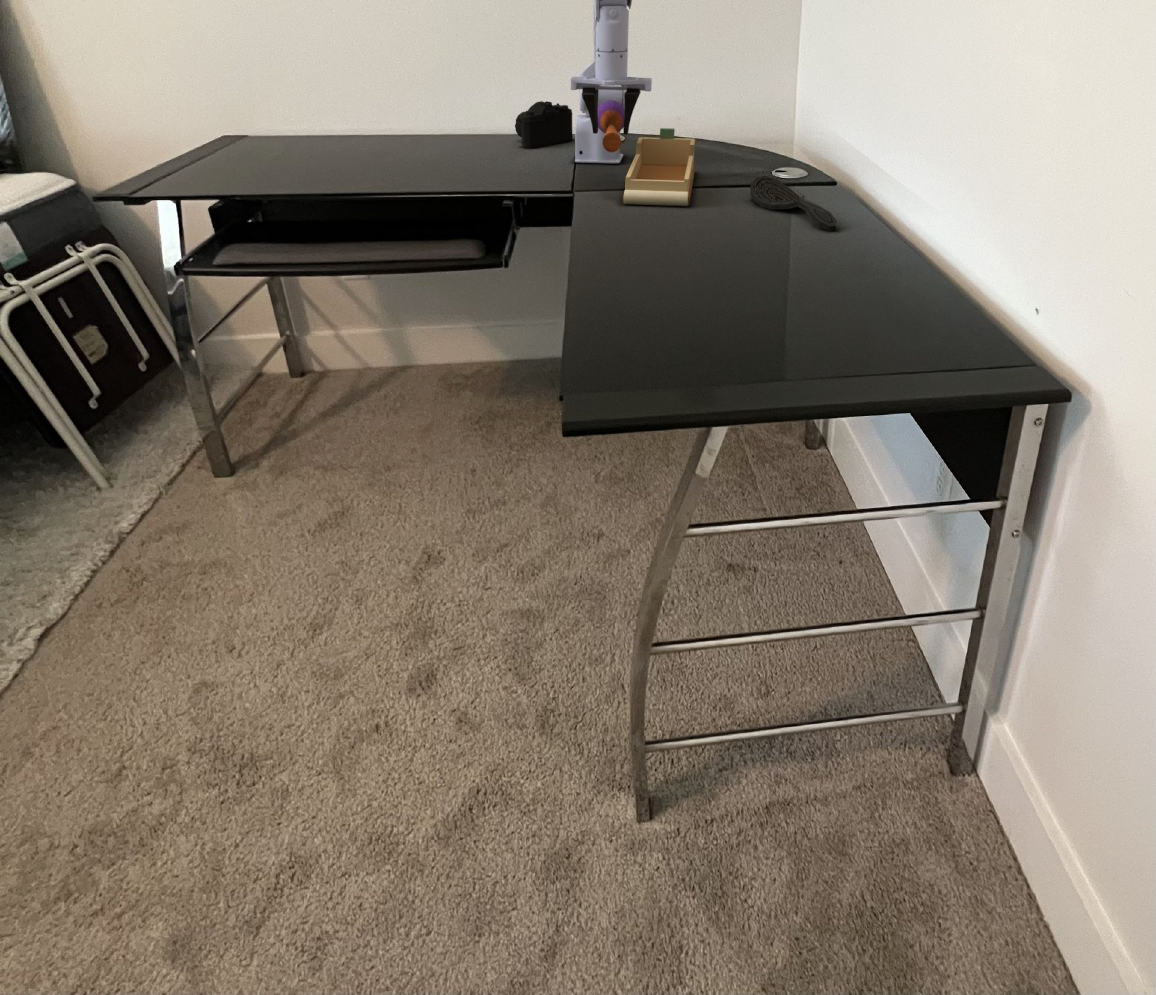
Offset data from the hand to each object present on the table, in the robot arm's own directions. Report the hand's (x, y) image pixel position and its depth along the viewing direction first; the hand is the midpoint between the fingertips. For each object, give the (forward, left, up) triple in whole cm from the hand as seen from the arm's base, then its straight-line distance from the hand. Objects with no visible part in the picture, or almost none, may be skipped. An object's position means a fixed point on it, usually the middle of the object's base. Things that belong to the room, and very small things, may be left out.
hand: (610, 133), depth 156 cm
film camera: (-21, +39, -10) cm, 45 cm away
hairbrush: (+34, -14, -10) cm, 38 cm away
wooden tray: (+10, 0, -9) cm, 14 cm away
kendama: (0, 0, -2) cm, 2 cm away
